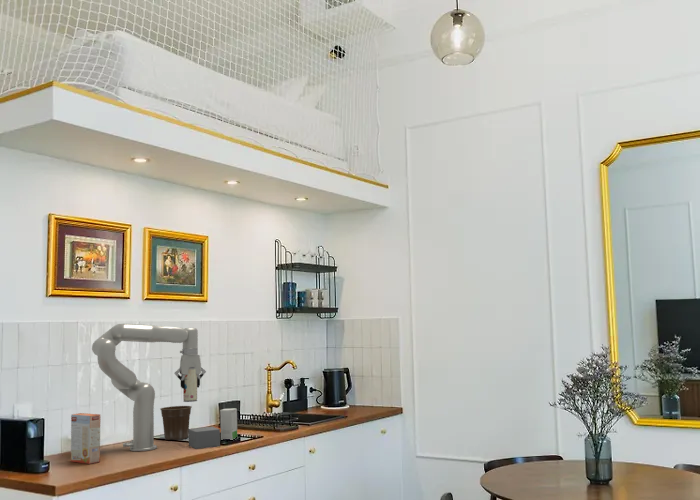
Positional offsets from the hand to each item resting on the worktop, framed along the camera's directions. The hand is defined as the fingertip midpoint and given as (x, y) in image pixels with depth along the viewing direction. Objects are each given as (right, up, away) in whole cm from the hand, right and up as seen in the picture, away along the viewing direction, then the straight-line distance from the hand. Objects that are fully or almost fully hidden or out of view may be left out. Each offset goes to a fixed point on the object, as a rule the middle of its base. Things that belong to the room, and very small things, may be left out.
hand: (190, 387), depth 359 cm
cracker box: (-36, -24, -45) cm, 63 cm away
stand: (+10, -26, -12) cm, 30 cm away
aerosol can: (0, -7, -1) cm, 7 cm away
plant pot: (-11, -30, +14) cm, 34 cm away
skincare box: (+19, -28, +4) cm, 34 cm away
